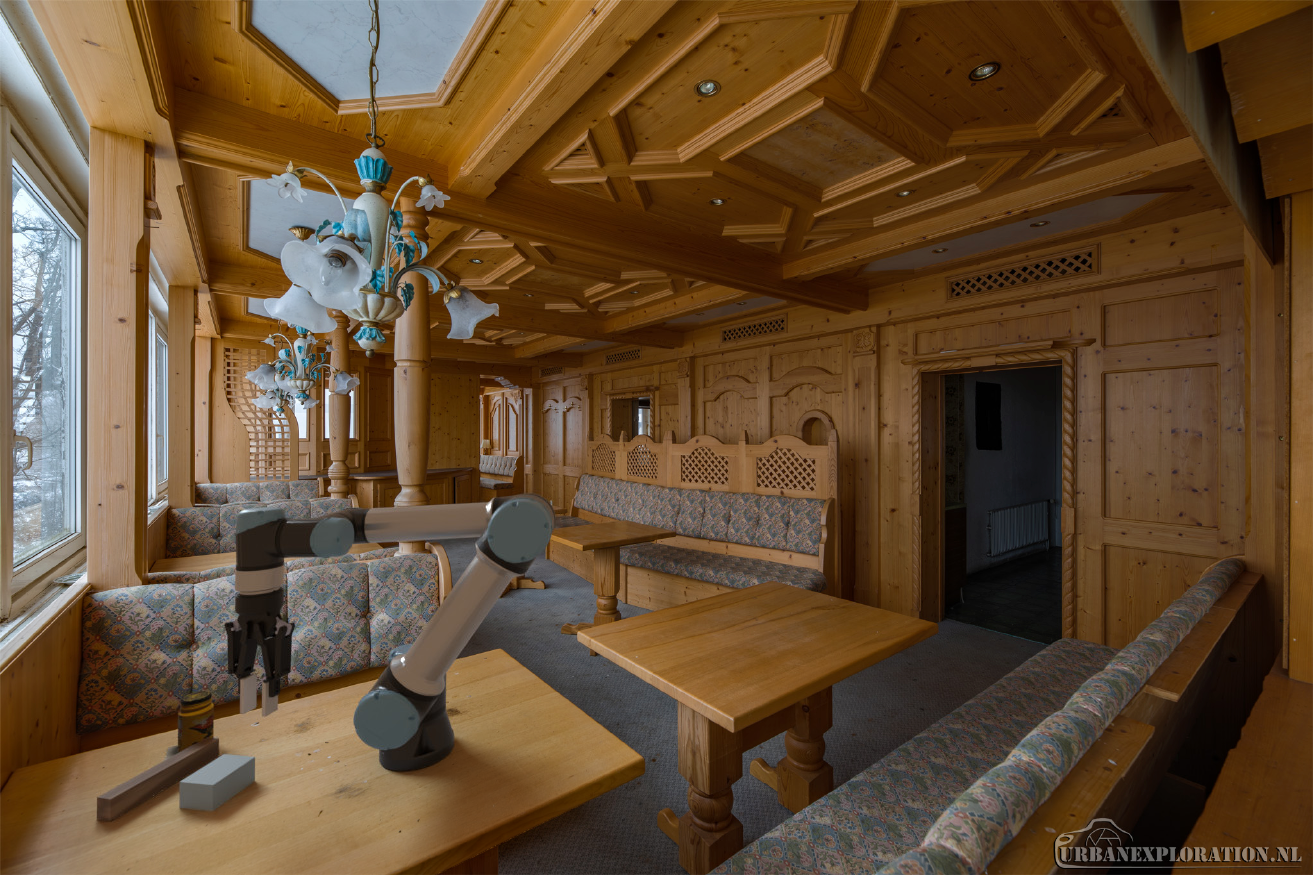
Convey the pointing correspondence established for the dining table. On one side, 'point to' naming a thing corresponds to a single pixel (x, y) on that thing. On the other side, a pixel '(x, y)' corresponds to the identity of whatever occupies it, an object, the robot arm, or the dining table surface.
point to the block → (217, 782)
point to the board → (156, 779)
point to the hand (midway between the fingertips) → (259, 711)
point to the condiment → (194, 721)
